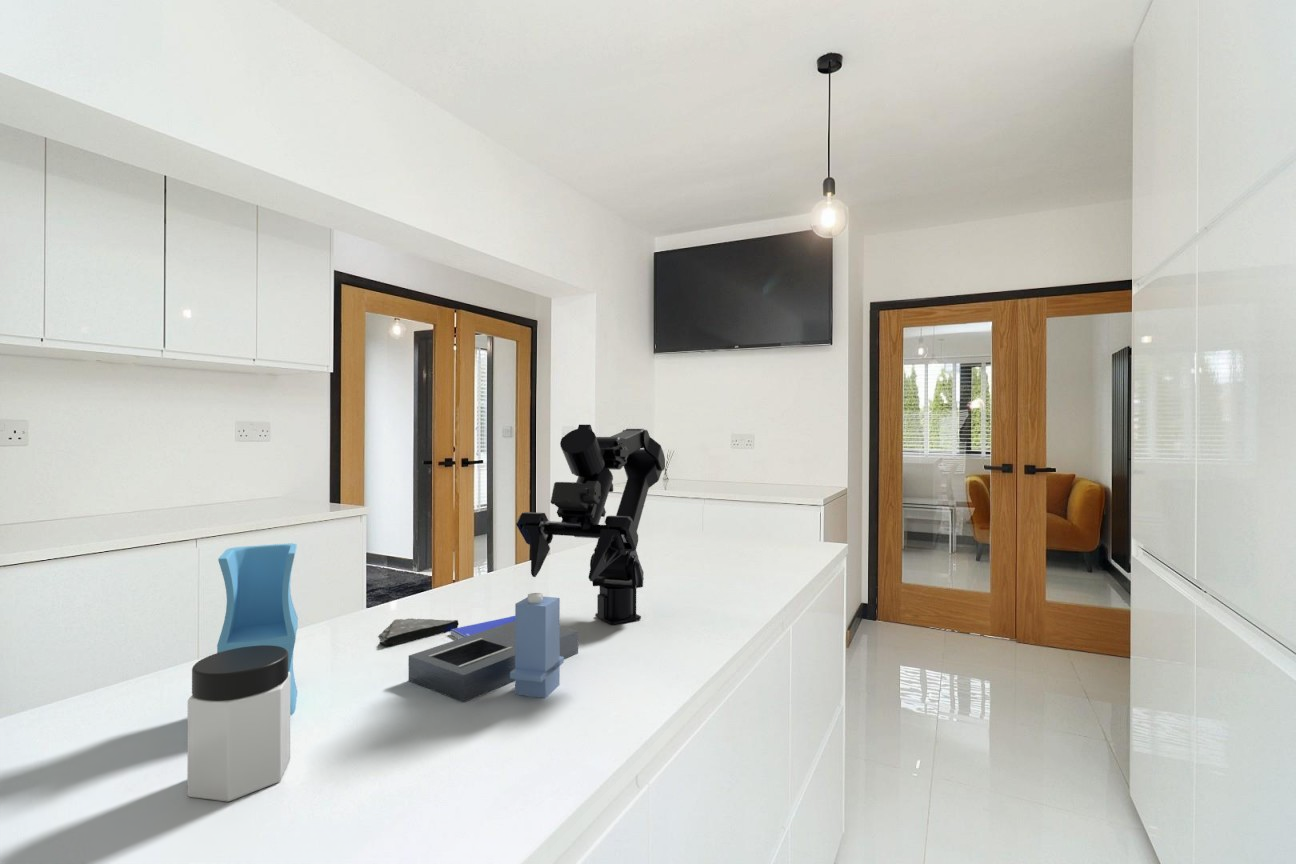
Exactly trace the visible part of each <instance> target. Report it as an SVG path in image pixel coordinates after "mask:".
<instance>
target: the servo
mask: <svg viewBox="0 0 1296 864" xmlns="http://www.w3.org/2000/svg"><path fill="white" fill-rule="evenodd" d="M560 601H561V599H560V597H556V596H555V597H553V596H544V594H543V593H541V592H532V593H531V592H530V593H528V594H527V597H525V598H523V599H522V600H519V601H518V602H516V603H515V610H514V613H515V614H514V616H515V669H514V670H513V671H511V672H510V679H515V680H514V683H515V684H514V686H515V687H514V695H519V696H527V697H534V698H543V699H546V698H548V696H549V695H551V694H552V693H553V692H554V691H555V690H556V689H557V688H558V687H559V686H560V684H561V683H560V677H561V676H560V668H561V667H560V666H562V665H563V664H564V661H565V659H564V657H561V656H560V626H561V624H560V623H561V622H560V620H561V619H560V618H561V617H560V615H561V613H560V612H561V611H560V607H561V605H560V603H561V602H560Z"/></svg>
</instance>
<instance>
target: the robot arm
mask: <svg viewBox="0 0 1296 864" xmlns="http://www.w3.org/2000/svg"><path fill="white" fill-rule="evenodd" d="M559 444H560V449H561V451H562V453H563V456H564V457H565V460H566V462H567V465H568V467H569V470H570V472H571V474H572V475H574V476H576V477H577V480H576V482H574V481H573V482H570V481H569V482H568V481H555V482H554V483H553V488H552V493H551V499H550V503H551V504H552V505H555V507H557V510H556V514H557V516H558V518H562V520H561V521H555V520H553V521H551V520H549V518H548V516H547V514H546V513H545V512H537V511H536V512H532V511H530V512H529V511H525V512H522V513H520V515H519V517H518V519H517V522H516V523H515V525H516V526H517V528H518V531H519V532H520V534H521V536H522V537H523V539H524V541H525V543H526V544H527V545H529V546H530V574H531V576H532V578H536V577H537V576H538V574H539V573H540V572H541V569H542V566H543V565H544V562H545V560H546V558H547V556H548V555H549V552H550V549H551V547H550V545H549V544H551V543H552V540H553V539H554V536H565V537H566V536H567V537H568V536H569V537H575V538H583V539H584V538H586V539H597V542H596V545H595V548H594V549H593V551H594V552H593V553H592V555H590V556H591V557H590V561H589V567H590V569H589V573H588V579H589V581H590V582H592V587H599V593H598V594H597V598H596V599H597V604H596V605H597V612H596V613H595V614H594V616H595V617H597V618H598V619H599V620H602V621H603V622H605V623H607V624H610V625H617V624H623V623H628V622H633V621H638V620H641V618H642V616H641V615H639V614H637V589H638V588H639V589H640V588H641V589H642V588H644V570H643V567H642V565H641V562H640V560H639V559H640V558H639V555H638V552H637V547H638V544H639V543H638V542H639V533H638V528H639V525H640V521H641V518H642V514H643V510H644V507H645V502H646V500H647V495H648V491H649V489H650V488H651V487H652V486H653V485H655V484H656V483H658V482H659V480H660V478H661V474H662V472H664V471H665V467H666V458H665V454H664V451H663V448H662V446H661V444H660V443H659V442H657V441H656V440H654V438H652V437H651V435H650V433H649V431H648V429H645V428H626V429H623V430H621V432H618V433H615V434H613V435H612V436H596V434H595V432H594V431H593V428H592V425H591V424H578V427H577V428H576V429H573V430H571V431H569V432H567V433H566V434H565V435H564V436H562V437H561V440H560V443H559ZM623 468H624V469H623ZM621 469H623V470H624V472H625V476H626V478H627V480H626V482H625V485H624V488H623V489H624V490H623V493H622V496H621V499H620V502H619V505H618V508H617V512H616V514H615V515H606V513H607V511H606V508H605V506H606V502H607V499H608V496H609V493H612V492H614V484H613V480H614V476H613V473H612V471H611V470H619V471H620V470H621ZM602 517H603V518H604V517H605V520H604V524H600V521H601V518H602Z"/></svg>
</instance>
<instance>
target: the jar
mask: <svg viewBox="0 0 1296 864" xmlns="http://www.w3.org/2000/svg"><path fill="white" fill-rule="evenodd" d="M290 677H291V674H290V672H288V651H287V650H286V649H285V648H282V647H279V646H271V645H260V646H249V647H241V648H236V649H231V650H227V651H223V652H219V653H217V652H216V653H213V654H211V655H209V656H206V657H204V658H202V659H200V660H199V661H197V662H196V663H195V664H194V665H193V666H192V668H191V694H192V695H191V696H189V698H188V699H187V764H186V765H187V771H186V772H187V774H186V775H187V777H186V779H187V787H186V788H187V797H189V798H194V799H195V798H196V799H204V800H205V799H206V800H212V801H219V802H220V801H221V802H229V803H230V802H231V801H234V800H237V799H239V798H242V797H245V796H246V795H250V794H252V793H255V792H257V791H260V790H263V789H265V788H268V787H270V786H272V785H275V784H277V783H280V782H281V781H282V779H283V778H284V774H285V772H286V770H287V766H288V764H289V763H290V760H291V715H290Z"/></svg>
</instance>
